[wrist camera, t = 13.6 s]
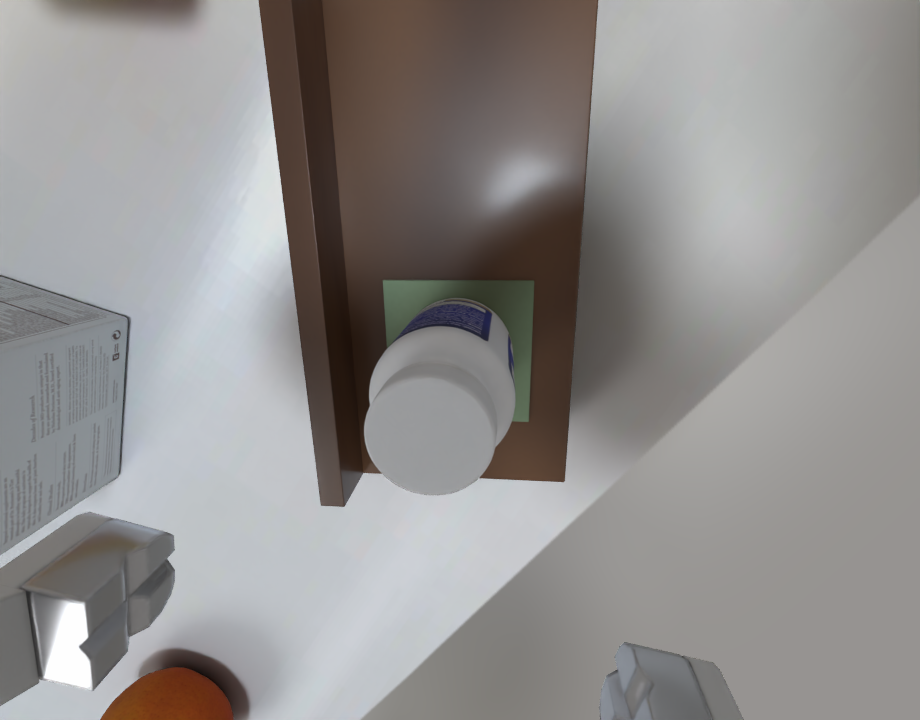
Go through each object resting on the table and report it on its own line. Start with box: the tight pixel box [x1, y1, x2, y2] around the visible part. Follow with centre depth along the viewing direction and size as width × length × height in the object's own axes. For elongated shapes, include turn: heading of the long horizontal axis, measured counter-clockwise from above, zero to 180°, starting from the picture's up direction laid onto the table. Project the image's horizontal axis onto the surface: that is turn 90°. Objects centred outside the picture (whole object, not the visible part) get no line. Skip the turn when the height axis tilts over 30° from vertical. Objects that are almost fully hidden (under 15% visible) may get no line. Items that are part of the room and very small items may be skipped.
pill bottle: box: [364, 298, 516, 495], centre depth 17 cm, size 5×5×9 cm
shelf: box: [259, 0, 598, 507], centre depth 22 cm, size 12×22×9 cm, turn 1°
